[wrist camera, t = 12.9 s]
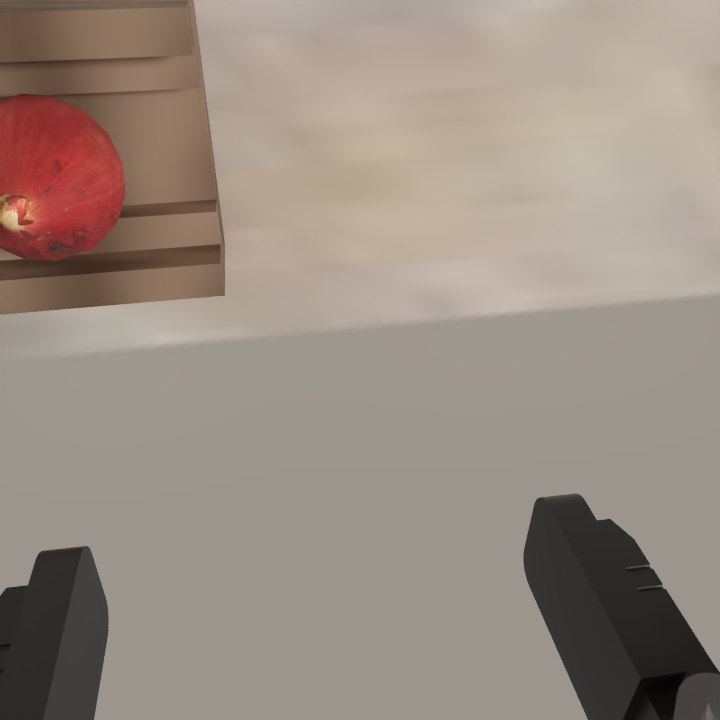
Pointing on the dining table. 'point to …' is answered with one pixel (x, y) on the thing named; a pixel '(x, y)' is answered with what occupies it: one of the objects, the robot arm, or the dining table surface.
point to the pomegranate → (55, 179)
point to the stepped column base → (123, 148)
